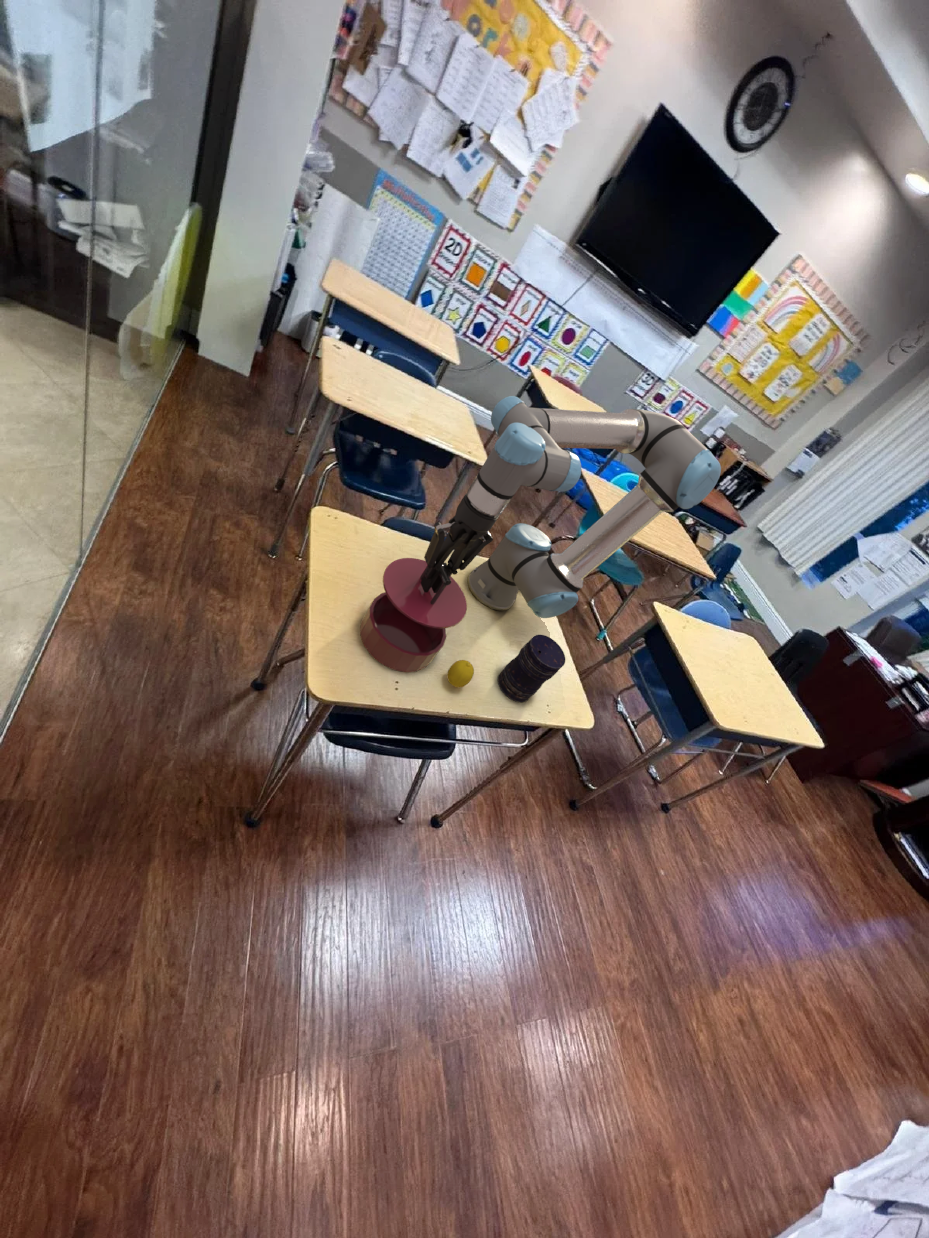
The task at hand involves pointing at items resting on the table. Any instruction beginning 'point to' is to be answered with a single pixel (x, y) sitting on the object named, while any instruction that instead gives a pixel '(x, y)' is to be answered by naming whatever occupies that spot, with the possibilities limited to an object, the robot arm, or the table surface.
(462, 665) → the lemon
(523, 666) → the storage jar
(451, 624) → the lid
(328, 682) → the table surface
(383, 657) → the pot
